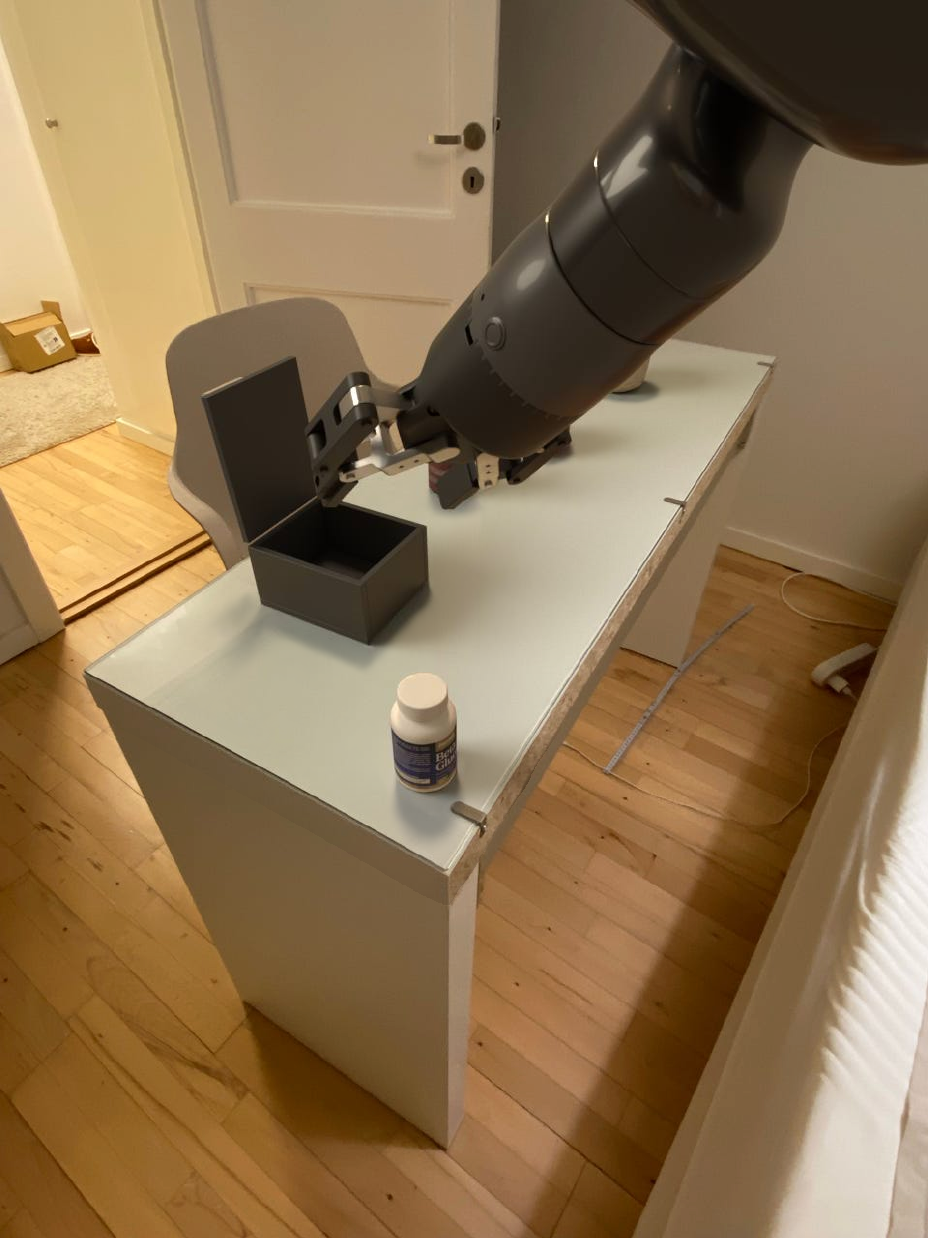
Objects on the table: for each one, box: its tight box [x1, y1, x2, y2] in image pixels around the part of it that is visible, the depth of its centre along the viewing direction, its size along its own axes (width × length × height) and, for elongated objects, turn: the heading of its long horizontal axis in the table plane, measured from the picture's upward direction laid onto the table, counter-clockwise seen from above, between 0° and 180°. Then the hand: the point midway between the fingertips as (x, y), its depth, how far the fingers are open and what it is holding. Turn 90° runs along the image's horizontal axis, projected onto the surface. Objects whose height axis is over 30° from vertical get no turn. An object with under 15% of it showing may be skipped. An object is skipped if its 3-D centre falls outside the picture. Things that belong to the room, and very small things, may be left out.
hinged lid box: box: [247, 497, 430, 646], centre depth 76 cm, size 15×13×8 cm
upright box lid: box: [200, 355, 317, 544], centre depth 72 cm, size 16×13×5 cm
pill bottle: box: [389, 672, 458, 793], centre depth 56 cm, size 5×5×10 cm
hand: (386, 495), depth 44 cm, fingers open, 8 cm apart
